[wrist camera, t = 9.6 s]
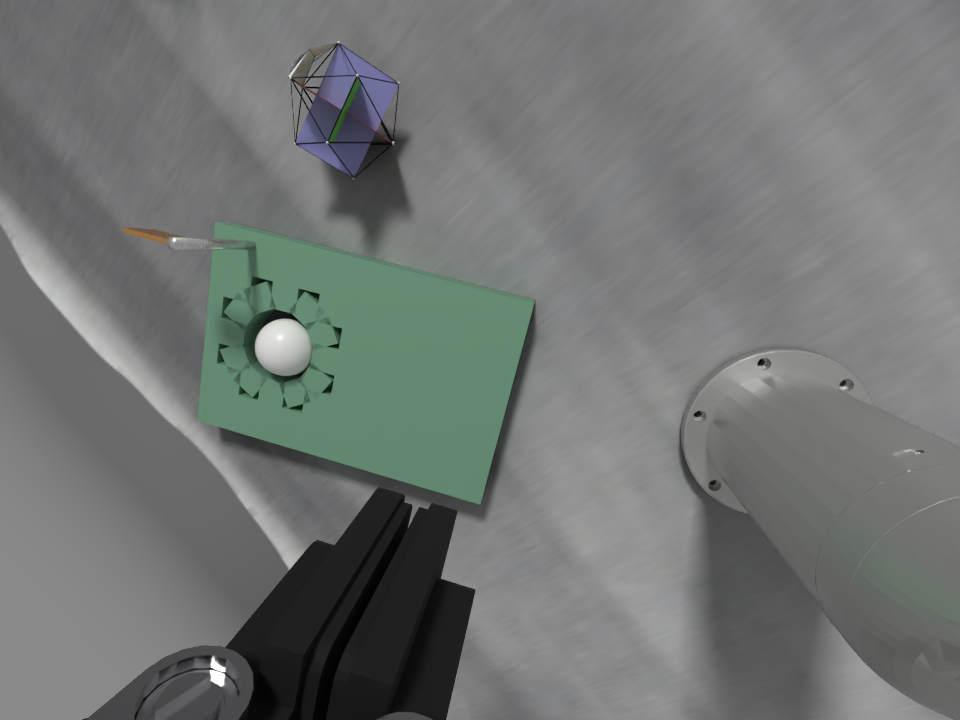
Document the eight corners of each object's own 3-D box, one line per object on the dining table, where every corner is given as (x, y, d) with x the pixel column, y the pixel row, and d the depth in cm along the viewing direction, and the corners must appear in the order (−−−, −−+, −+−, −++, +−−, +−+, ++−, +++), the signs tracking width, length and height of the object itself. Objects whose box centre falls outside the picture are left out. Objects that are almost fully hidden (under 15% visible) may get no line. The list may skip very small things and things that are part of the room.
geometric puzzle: (444, 110, 31) (340, 26, 25) (396, 205, 33) (287, 149, 27) (391, 87, 35) (291, 11, 29) (351, 172, 37) (249, 117, 31)
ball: (287, 330, 33) (245, 312, 35) (278, 388, 34) (238, 368, 36) (332, 326, 37) (292, 310, 38) (324, 379, 38) (285, 361, 40)
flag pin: (275, 242, 37) (177, 238, 27) (274, 251, 37) (177, 250, 27) (234, 231, 37) (122, 224, 27) (233, 240, 37) (122, 236, 28)
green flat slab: (535, 300, 35) (534, 303, 32) (484, 489, 39) (480, 504, 36) (237, 223, 37) (215, 221, 34) (218, 410, 41) (197, 420, 38)
